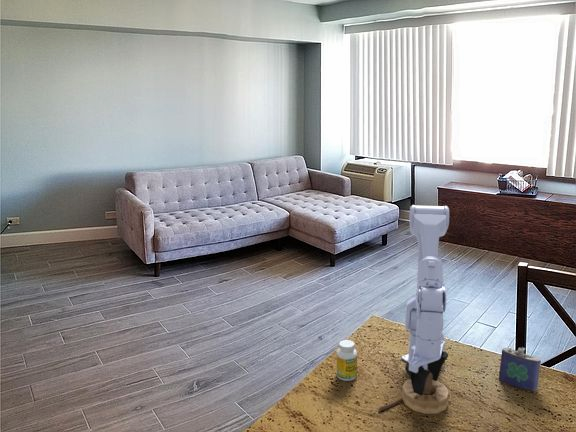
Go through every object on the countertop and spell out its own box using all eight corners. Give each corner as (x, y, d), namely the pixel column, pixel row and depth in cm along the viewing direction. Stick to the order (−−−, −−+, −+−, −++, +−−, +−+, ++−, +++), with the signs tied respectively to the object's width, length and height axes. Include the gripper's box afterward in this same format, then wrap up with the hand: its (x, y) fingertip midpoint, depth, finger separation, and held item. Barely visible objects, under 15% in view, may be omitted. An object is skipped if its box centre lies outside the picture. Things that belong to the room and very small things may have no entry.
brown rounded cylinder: (420, 394, 125) (422, 365, 123) (433, 398, 123) (434, 369, 121) (415, 401, 122) (417, 371, 120) (428, 405, 120) (430, 375, 118)
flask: (538, 389, 126) (542, 351, 123) (535, 395, 124) (539, 356, 121) (500, 377, 132) (504, 340, 129) (496, 382, 129) (500, 344, 127)
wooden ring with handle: (423, 382, 129) (423, 372, 129) (456, 403, 121) (457, 392, 120) (372, 406, 120) (372, 395, 119) (404, 430, 112) (404, 419, 111)
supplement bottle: (347, 368, 137) (348, 336, 134) (361, 377, 132) (361, 344, 130) (332, 374, 134) (332, 342, 131) (345, 384, 130) (345, 350, 127)
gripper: (427, 319, 126) (424, 367, 129) (398, 341, 115) (395, 393, 119) (454, 328, 121) (450, 377, 125) (426, 351, 111) (423, 404, 114)
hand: (425, 385), depth 121 cm, fingers open, 7 cm apart
